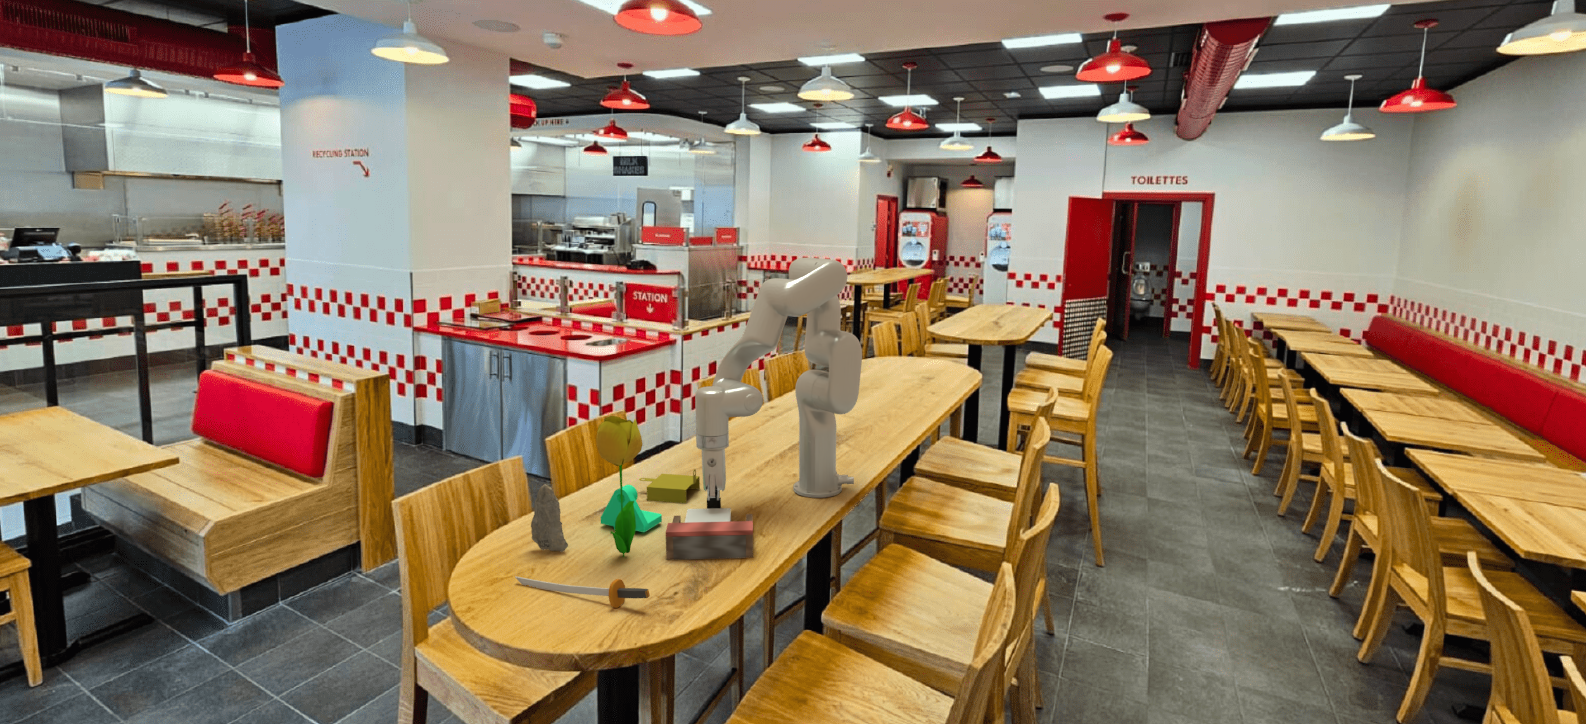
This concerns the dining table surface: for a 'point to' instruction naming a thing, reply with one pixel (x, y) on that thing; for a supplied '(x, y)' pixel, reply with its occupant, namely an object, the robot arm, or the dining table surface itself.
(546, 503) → the stone tool
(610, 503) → the camera mount
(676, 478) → the bracket
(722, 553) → the bridge
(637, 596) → the katana
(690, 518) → the panel
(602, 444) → the flower
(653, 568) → the dining table surface
